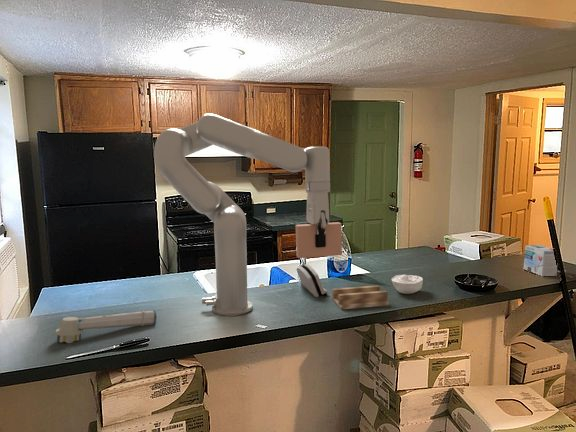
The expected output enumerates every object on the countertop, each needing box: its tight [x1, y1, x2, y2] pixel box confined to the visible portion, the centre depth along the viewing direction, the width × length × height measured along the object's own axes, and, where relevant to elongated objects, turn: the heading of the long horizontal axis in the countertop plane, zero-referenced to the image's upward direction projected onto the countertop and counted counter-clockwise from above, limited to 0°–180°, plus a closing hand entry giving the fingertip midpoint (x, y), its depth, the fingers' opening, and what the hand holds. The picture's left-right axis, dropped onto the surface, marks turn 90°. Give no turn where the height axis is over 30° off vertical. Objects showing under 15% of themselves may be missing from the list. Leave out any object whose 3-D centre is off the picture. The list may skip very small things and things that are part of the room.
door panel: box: [295, 221, 343, 259], centre depth 135 cm, size 14×3×10 cm, turn 102°
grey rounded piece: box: [296, 263, 330, 298], centre depth 154 cm, size 17×5×10 cm, turn 15°
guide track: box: [331, 284, 390, 310], centre depth 141 cm, size 16×10×4 cm, turn 102°
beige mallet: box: [55, 309, 157, 344], centre depth 118 cm, size 5×7×25 cm
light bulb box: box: [523, 244, 558, 276], centre depth 173 cm, size 11×7×11 cm, turn 10°
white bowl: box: [391, 274, 424, 295], centre depth 151 cm, size 10×12×7 cm
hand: (318, 245), depth 135 cm, fingers closed on door panel, 3 cm apart
